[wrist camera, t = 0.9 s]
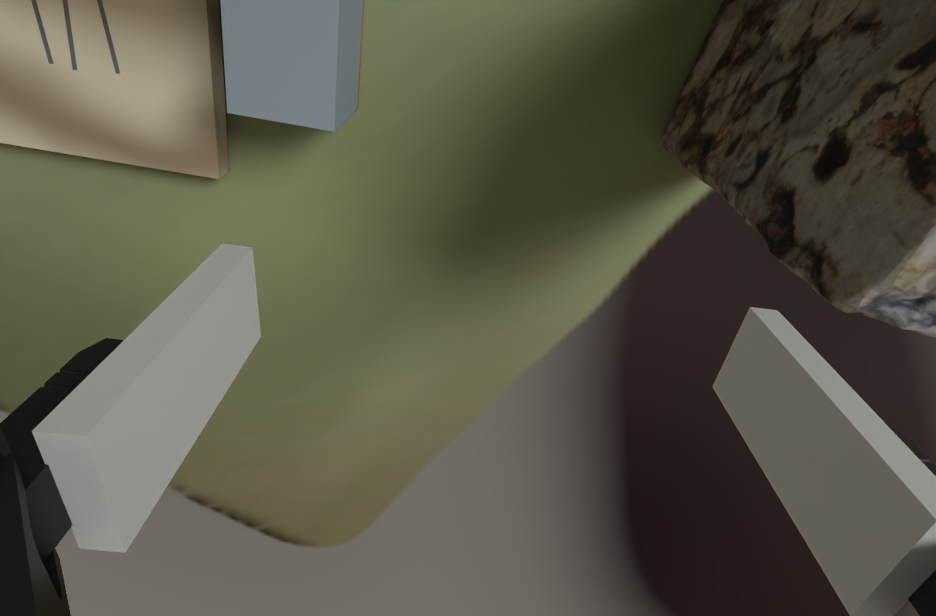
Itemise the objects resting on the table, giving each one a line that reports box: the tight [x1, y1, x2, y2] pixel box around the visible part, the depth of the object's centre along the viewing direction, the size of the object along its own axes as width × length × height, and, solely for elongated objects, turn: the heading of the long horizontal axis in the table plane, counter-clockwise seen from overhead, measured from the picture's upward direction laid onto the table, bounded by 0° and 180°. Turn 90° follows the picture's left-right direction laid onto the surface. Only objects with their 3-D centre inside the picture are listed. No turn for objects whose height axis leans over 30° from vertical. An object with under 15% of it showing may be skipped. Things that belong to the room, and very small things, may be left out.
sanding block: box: [220, 0, 365, 132], centre depth 25 cm, size 8×5×6 cm, turn 170°
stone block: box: [661, 0, 936, 337], centre depth 20 cm, size 13×7×20 cm, turn 168°
